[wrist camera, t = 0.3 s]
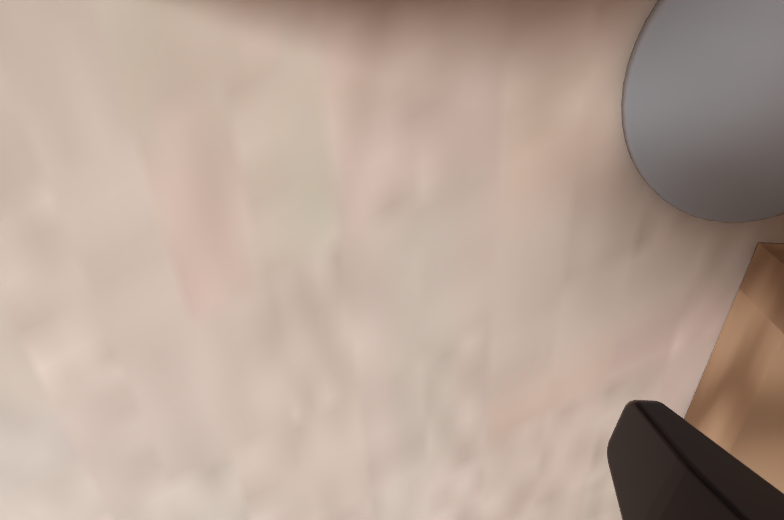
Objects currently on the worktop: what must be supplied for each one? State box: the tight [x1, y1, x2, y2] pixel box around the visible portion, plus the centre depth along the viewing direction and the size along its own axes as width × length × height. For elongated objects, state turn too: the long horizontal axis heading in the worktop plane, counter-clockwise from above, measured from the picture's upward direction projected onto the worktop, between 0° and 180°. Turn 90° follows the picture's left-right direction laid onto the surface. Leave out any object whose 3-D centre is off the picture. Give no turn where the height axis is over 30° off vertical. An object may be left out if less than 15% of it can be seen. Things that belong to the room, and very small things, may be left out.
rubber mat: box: [621, 0, 784, 222], centre depth 24 cm, size 10×10×1 cm
